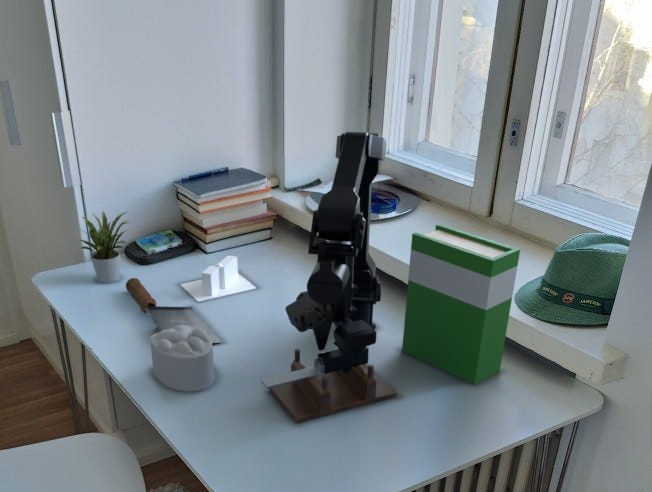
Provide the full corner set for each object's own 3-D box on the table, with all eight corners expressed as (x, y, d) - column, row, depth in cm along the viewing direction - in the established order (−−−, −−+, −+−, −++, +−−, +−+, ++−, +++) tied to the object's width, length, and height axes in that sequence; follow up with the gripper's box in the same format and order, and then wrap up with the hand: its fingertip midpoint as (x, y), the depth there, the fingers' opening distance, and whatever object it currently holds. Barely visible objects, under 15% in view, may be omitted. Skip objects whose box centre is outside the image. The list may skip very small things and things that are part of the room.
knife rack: (364, 366, 149) (366, 332, 145) (397, 396, 140) (400, 360, 135) (268, 390, 143) (268, 354, 139) (296, 423, 134) (296, 386, 129)
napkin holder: (236, 271, 189) (235, 249, 186) (257, 288, 181) (256, 264, 177) (179, 284, 184) (177, 261, 181) (198, 302, 175) (196, 278, 172)
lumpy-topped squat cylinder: (193, 354, 155) (190, 314, 151) (227, 381, 146) (225, 340, 141) (147, 369, 151) (142, 329, 146) (179, 398, 142) (174, 356, 137)
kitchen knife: (360, 357, 141) (361, 342, 140) (368, 364, 139) (369, 349, 137) (260, 381, 135) (259, 366, 134) (266, 389, 133) (266, 374, 132)
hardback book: (402, 350, 154) (412, 233, 140) (426, 338, 157) (439, 223, 144) (474, 384, 142) (493, 260, 129) (499, 370, 146) (520, 249, 132)
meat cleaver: (222, 342, 159) (221, 324, 157) (170, 354, 156) (168, 336, 153) (170, 284, 185) (168, 268, 183) (124, 293, 182) (122, 277, 179)
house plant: (151, 268, 193) (144, 203, 183) (132, 291, 181) (123, 224, 172) (97, 265, 195) (88, 201, 186) (75, 288, 184) (64, 221, 175)
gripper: (268, 268, 133) (270, 348, 142) (317, 310, 119) (316, 396, 128) (326, 256, 137) (324, 335, 146) (380, 297, 122) (375, 381, 131)
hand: (333, 361), depth 137 cm, fingers open, 9 cm apart
